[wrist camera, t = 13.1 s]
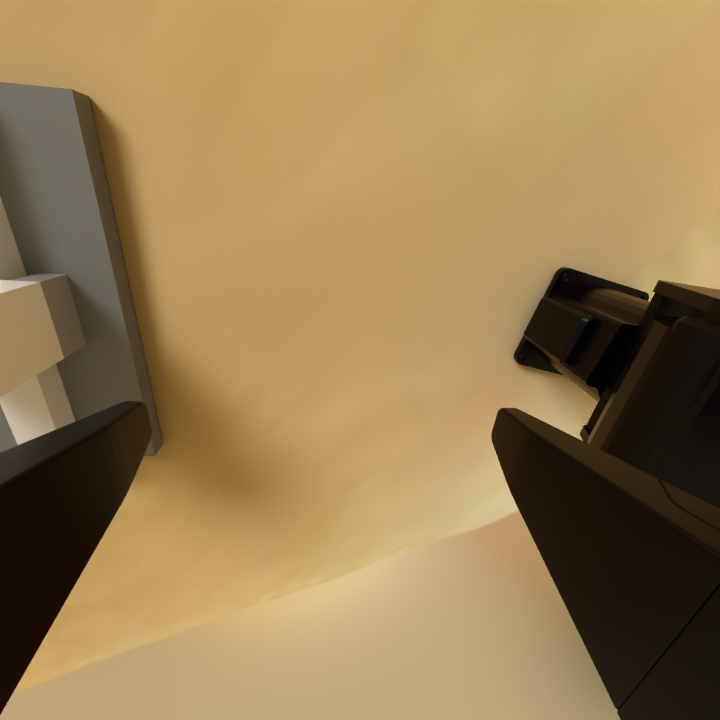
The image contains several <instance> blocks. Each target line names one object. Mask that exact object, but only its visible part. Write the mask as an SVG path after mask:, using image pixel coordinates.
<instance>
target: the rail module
mask: <svg viewBox="0 0 720 720" xmlns="http://www.w3.org/2000/svg"><path fill="white" fill-rule="evenodd" d="M84 346H86V342H85V338H84V335H83V331H82V328H81V324H80V321H79V317H78V314H77V310H76V307H75V303H74V300H73V296H72V293H71V289H70V286H69V282H68V279H67V275H66V274H52V273H37V274H33V275H29V276H25V277H21V278H17V279H13V280H0V397H1V396H3V395H4V394H6V393H8V392H9V391H11V390H13V389H14V388H16V387H18V386H19V385H21V384H23V383H24V382H26V381H28V380H29V379H31V378H33V377H34V376H36V375H38V374H39V373H41V372H43V371H44V370H46V369H48V368H49V367H51V366H53V365H54V364H56V363H57V362H59V361H61V360H62V359H64V358H66V357H67V356H69V355H71V354H72V353H74V352H76V351H77V350H79V349H81V348H82V347H84Z"/></svg>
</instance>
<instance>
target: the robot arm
mask: <svg viewBox="0 0 720 720" xmlns="http://www.w3.org/2000/svg"><path fill="white" fill-rule="evenodd" d="M565 273H566V274H567V275H566V277H565V279H562V277H563V275H564V274H565ZM653 292H655V294H654V296H653V298H652V300H651V302H649V301H648V299H649V295H648V294H647V293H646V292H643V291H639V290H636V289H633V288H630V287H627V286H624V285H621V284H617V283H614V282H611V281H608V280H605V279H602V278H598V277H595V276H592V275H589V274H586V273H583V272H580V271H576V270H573V269H570V268H567V267H563V268H560V269H559V270H557V272H556V273H555V275H554V277H553V279H552V281H551V283H550V285H549V287H548V289H547V291H546V293H545V295H544V297H543V298H542V299H541V301H540V303H539V305H538V307H537V309H536V310H535V312H534V314H533V316H532V318H531V320H530V322H529V324H528V326H527V328H526V330H525V332H524V336H523V338H522V340H521V342H520V344H519V346H518V348H517V349H516V351H515V353H514V359H515V361H516V362H517V363H519V364H521V365H525V366H529V367H533V368H537V369H541V370H545V371H549V372H553V373H557V374H561V375H564V376H566V377H567V378H568V379H569V380H571V381H572V382H573V383H575V384H576V385H577V386H579V387H580V388H581V389H582V390H584V391H585V392H586V393H588V394H589V395H590V396H592V397H593V398H594V399H595V400H597V401H598V404H597V406H596V408H595V410H594V412H593V414H592V415H591V417H590V419H589V421H588V423H587V425H584V426H583V428H582V430H581V432H580V436H581V438H582V439H583V441H584V442H583V441H581V440H579V439H577V438H575V437H573V436H571V435H569V434H567V433H565V432H563V431H561V430H559V429H557V428H555V427H553V426H551V425H549V424H547V423H545V422H543V421H541V420H539V419H537V418H535V417H533V416H531V415H529V414H527V413H525V412H523V411H521V410H519V409H516V408H501V409H500V410H499V411H498V413H497V416H496V420H495V423H494V427H493V430H492V443H493V446H494V448H495V451H496V454H497V457H498V459H499V462H500V465H501V468H502V470H503V473H504V476H505V479H506V482H507V484H508V487H509V489H510V492H511V494H512V496H513V498H514V500H515V503H516V505H517V507H518V509H519V511H520V513H521V515H522V517H523V519H524V521H525V523H526V525H527V527H528V529H529V531H530V533H531V535H532V537H533V539H534V542H535V544H536V546H537V548H538V550H539V552H540V554H541V556H542V558H543V560H544V562H545V564H546V566H547V568H548V570H549V572H550V575H551V577H552V578H553V581H554V583H555V585H556V587H557V589H558V591H559V593H560V595H561V597H562V599H563V601H564V603H565V605H566V607H567V609H568V611H569V614H570V616H571V618H572V620H573V622H574V624H575V626H576V628H577V630H578V632H579V634H580V636H581V638H582V640H583V642H584V644H585V646H586V649H587V651H588V653H589V655H590V657H591V659H592V661H593V663H594V665H595V667H596V669H597V671H598V673H599V675H600V677H601V679H602V681H603V683H604V685H605V688H606V690H607V692H608V693H609V696H610V698H611V700H612V702H613V704H614V706H615V708H616V709H618V711H617V712H618V715H619V717H620V719H621V720H720V290H717V289H711V288H705V287H698V286H692V285H686V284H680V283H674V282H668V281H661V280H659V281H658V282H657V284H656V286H655V288H654V290H653ZM639 297H640V298H639ZM523 354H525V355H524V357H523V358H521V359H520V357H521V356H522V355H523ZM151 437H152V426H151V422H150V417H149V413H148V408H147V405H146V404H145V403H144V402H143V401H124V402H121V403H119V404H116V405H114V406H112V407H109V408H107V409H104V410H102V411H99V412H97V413H95V414H92V415H90V416H87V417H85V418H83V419H80V420H78V421H75V422H73V423H70V424H68V425H66V426H63V427H61V428H58V429H56V430H54V431H51V432H49V433H46V434H44V435H41V436H39V437H37V438H34V439H32V440H29V441H27V442H25V443H22V444H20V445H17V446H15V447H12V448H10V449H8V450H5V451H3V452H0V714H1V713H2V711H3V709H4V707H5V706H6V704H7V702H8V700H9V699H10V697H11V695H12V693H13V692H14V690H15V688H16V687H17V685H18V683H19V681H20V680H21V678H22V676H23V674H24V673H25V671H26V669H27V667H28V666H29V664H30V662H31V660H32V659H33V657H34V655H35V653H36V652H37V650H38V648H39V646H40V645H41V643H42V641H43V639H44V638H45V636H46V634H47V633H48V631H49V629H50V627H51V626H52V624H53V622H54V620H55V619H56V617H57V615H58V613H59V612H60V610H61V608H62V606H63V605H64V603H65V601H66V599H67V598H68V596H69V594H70V592H71V591H72V589H73V587H74V585H75V584H76V582H77V580H78V579H79V577H80V575H81V573H82V572H83V570H84V568H85V566H86V565H87V563H88V561H89V559H90V558H91V556H92V554H93V552H94V551H95V549H96V547H97V545H98V544H99V542H100V540H101V538H102V537H103V535H104V533H105V531H106V530H107V528H108V526H109V525H110V523H111V521H112V519H113V518H114V516H115V514H116V512H117V511H118V509H119V507H120V505H121V504H122V502H123V500H124V498H125V496H126V494H127V492H128V490H129V488H130V486H131V484H132V482H133V479H134V477H135V475H136V472H137V470H138V468H139V465H140V463H141V461H142V459H143V456H144V454H145V452H146V449H147V447H148V445H149V443H150V440H151Z"/></svg>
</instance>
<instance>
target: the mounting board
mask: <svg viewBox="0 0 720 720" xmlns="http://www.w3.org/2000/svg"><path fill="white" fill-rule="evenodd" d="M37 273H52V274H66V275H67V279H68V282H69V286H70V289H71V293H72V296H73V300H74V303H75V307H76V310H77V314H78V317H79V321H80V324H81V328H82V331H83V335H84V338H85V342H86V346H84V347H82V348H81V349H79V350H77V351H76V352H74V353H72V354H71V355H69V356H67V357H66V358H64V359H62V360H61V361H59V362H57V363H56V364H54V365H53V366H51V367H49V368H48V369H46V370H44V371H43V372H41V373H39V374H38V375H36V376H34V377H33V378H31V379H29V380H28V381H26V382H24V383H23V384H21V385H19V386H18V387H16V388H14V389H13V390H11V391H9V392H8V393H6V394H4V395H3V396H1V397H0V452H3V451H5V450H8V449H10V448H12V447H15V446H17V445H20V444H22V443H25V442H27V441H29V440H32V439H34V438H37V437H39V436H41V435H44V434H46V433H49V432H51V431H54V430H56V429H58V428H61V427H63V426H66V425H68V424H70V423H73V422H75V421H78V420H80V419H83V418H85V417H87V416H90V415H92V414H95V413H97V412H99V411H102V410H104V409H107V408H109V407H112V406H114V405H116V404H119V403H121V402H124V401H143V402H144V403H145V404H146V405H147V408H148V413H149V417H150V422H151V426H152V437H151V440H150V443H149V445H148V447H147V449H146V452H145V454H144V456H155V455H156V453H157V452H158V450H159V449H160V448H161V446H162V445H163V443H162V438H161V433H160V429H159V424H158V419H157V414H156V410H155V405H154V400H153V395H152V391H151V386H150V381H149V377H148V372H147V367H146V362H145V358H144V353H143V348H142V343H141V339H140V334H139V329H138V324H137V320H136V315H135V310H134V306H133V301H132V296H131V291H130V287H129V282H128V277H127V272H126V268H125V263H124V258H123V253H122V249H121V244H120V239H119V235H118V230H117V225H116V220H115V216H114V211H113V206H112V201H111V197H110V192H109V187H108V182H107V178H106V173H105V168H104V164H103V159H102V154H101V149H100V145H99V140H98V135H97V130H96V126H95V121H94V116H93V112H92V107H91V102H90V97H89V96H86V95H84V94H82V93H79V92H77V91H74V90H72V89H63V88H53V87H43V86H33V85H23V84H14V83H4V82H0V280H13V279H17V278H21V277H25V276H29V275H33V274H37Z"/></svg>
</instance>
